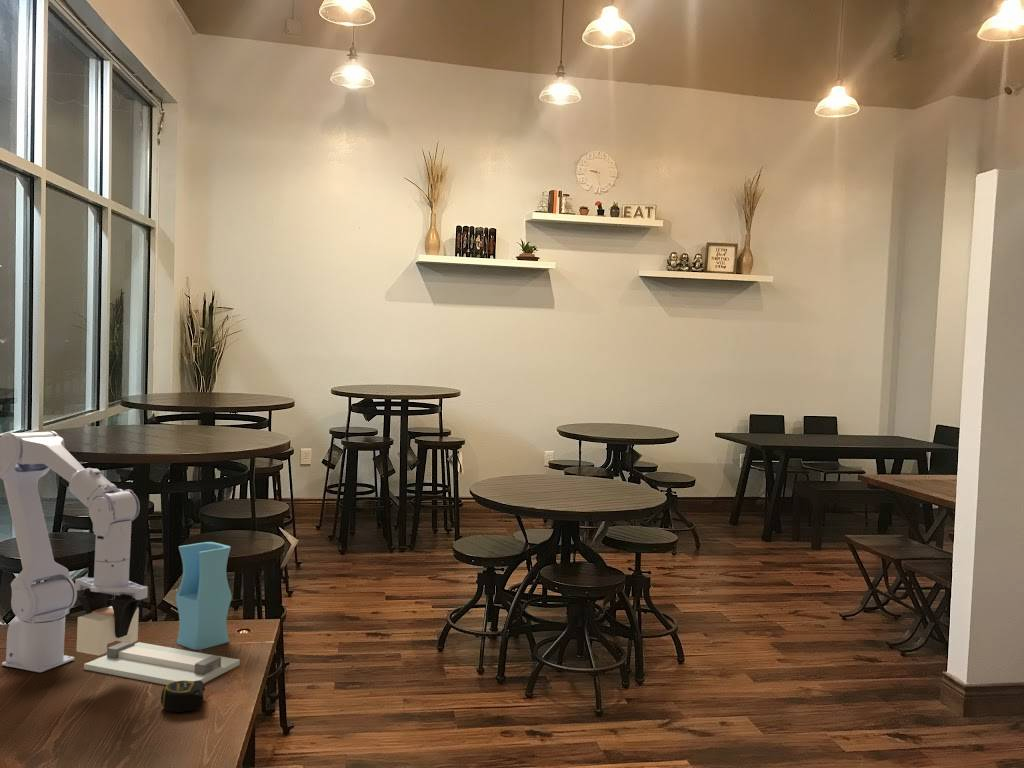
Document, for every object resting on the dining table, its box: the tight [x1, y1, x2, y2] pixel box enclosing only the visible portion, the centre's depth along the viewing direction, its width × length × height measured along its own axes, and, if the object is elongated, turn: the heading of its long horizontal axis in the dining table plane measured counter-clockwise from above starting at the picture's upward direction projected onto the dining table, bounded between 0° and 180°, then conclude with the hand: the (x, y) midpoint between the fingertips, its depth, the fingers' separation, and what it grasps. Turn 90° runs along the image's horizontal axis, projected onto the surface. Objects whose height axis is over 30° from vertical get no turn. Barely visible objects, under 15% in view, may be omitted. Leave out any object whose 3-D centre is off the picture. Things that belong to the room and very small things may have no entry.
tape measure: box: [160, 680, 206, 713], centre depth 140 cm, size 7×7×4 cm
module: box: [76, 605, 140, 656], centre depth 149 cm, size 5×9×6 cm, turn 162°
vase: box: [175, 541, 233, 651], centre depth 173 cm, size 8×8×20 cm
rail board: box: [83, 641, 241, 686], centre depth 158 cm, size 24×14×3 cm, turn 73°
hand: (109, 633), depth 149 cm, fingers closed on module, 5 cm apart
